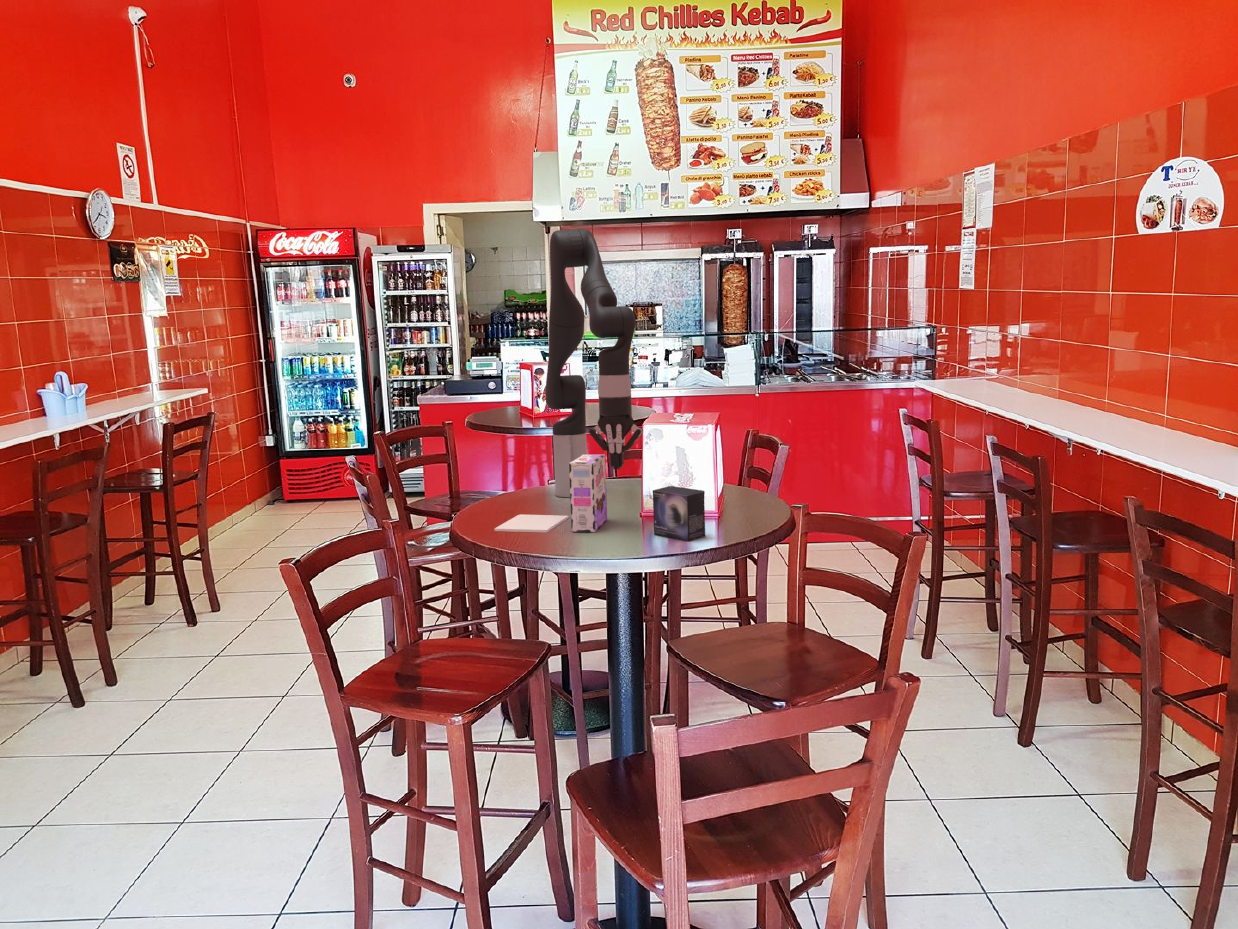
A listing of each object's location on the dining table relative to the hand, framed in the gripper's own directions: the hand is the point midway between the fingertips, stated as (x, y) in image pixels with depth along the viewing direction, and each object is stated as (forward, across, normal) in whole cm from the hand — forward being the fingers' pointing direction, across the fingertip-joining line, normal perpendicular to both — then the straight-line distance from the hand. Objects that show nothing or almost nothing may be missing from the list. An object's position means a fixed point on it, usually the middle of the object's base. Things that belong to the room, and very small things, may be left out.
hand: (617, 468), depth 223 cm
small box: (+14, -16, +7) cm, 22 cm away
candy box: (+14, +7, 0) cm, 16 cm away
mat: (+14, +22, 0) cm, 26 cm away
